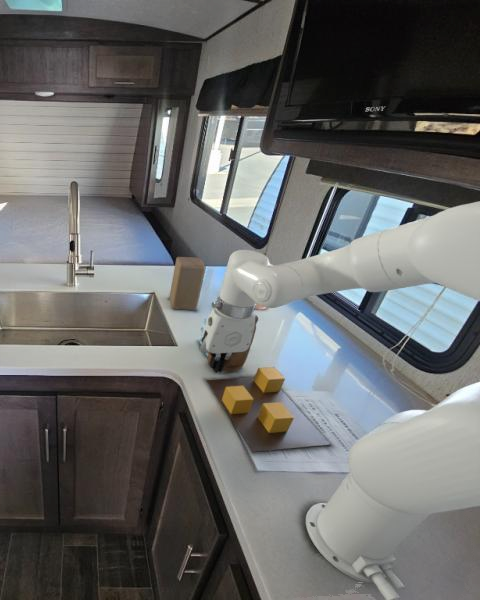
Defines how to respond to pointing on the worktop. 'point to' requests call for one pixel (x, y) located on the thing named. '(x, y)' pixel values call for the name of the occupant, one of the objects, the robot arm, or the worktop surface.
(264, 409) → the ochre block
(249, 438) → the mat
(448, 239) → the robot arm
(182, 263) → the wooden block
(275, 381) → the ochre block
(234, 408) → the ochre block
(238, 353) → the brown rounded lump
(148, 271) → the worktop surface
